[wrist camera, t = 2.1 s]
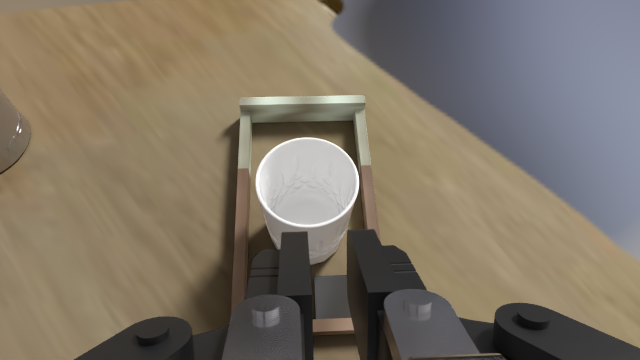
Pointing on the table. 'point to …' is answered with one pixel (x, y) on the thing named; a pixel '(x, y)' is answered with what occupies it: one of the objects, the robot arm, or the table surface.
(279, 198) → the white cup
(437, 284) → the table surface
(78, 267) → the table surface
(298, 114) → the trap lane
